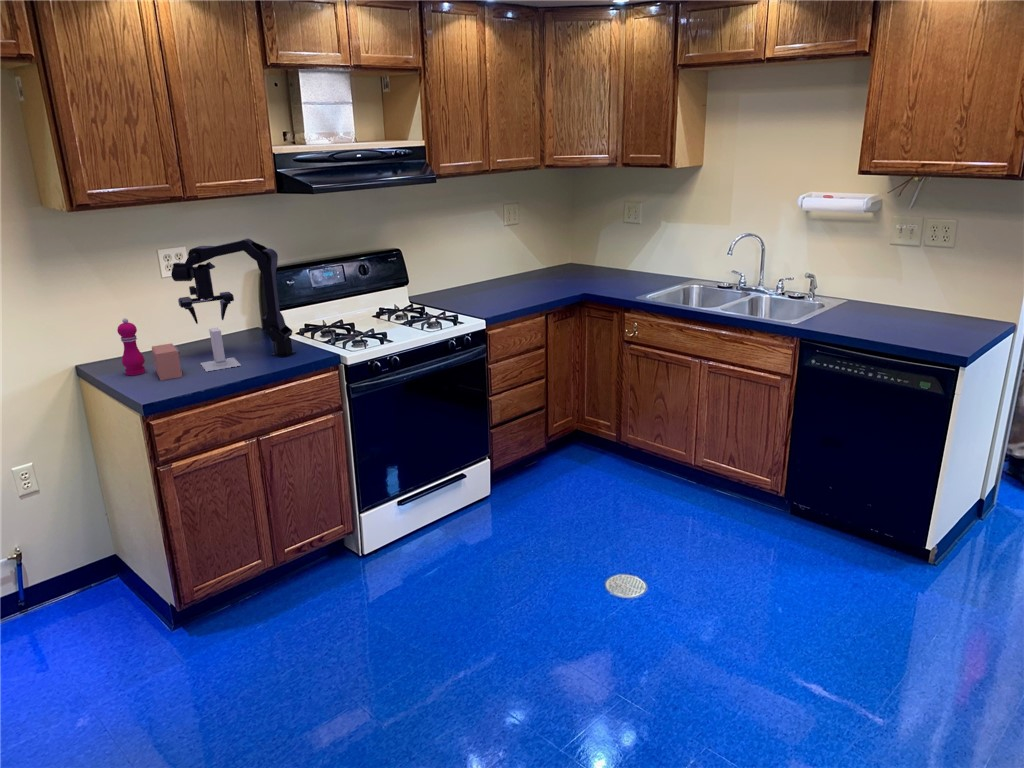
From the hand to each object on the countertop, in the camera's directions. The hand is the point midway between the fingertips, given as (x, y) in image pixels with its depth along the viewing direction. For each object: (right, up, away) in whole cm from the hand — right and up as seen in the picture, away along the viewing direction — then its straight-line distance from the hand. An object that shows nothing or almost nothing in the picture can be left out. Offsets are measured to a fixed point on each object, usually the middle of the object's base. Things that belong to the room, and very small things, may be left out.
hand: (209, 321), depth 276 cm
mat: (+7, -17, -8) cm, 20 cm away
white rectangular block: (+7, -16, -9) cm, 20 cm away
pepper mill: (-20, -20, -15) cm, 32 cm away
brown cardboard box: (-7, -20, -17) cm, 27 cm away
